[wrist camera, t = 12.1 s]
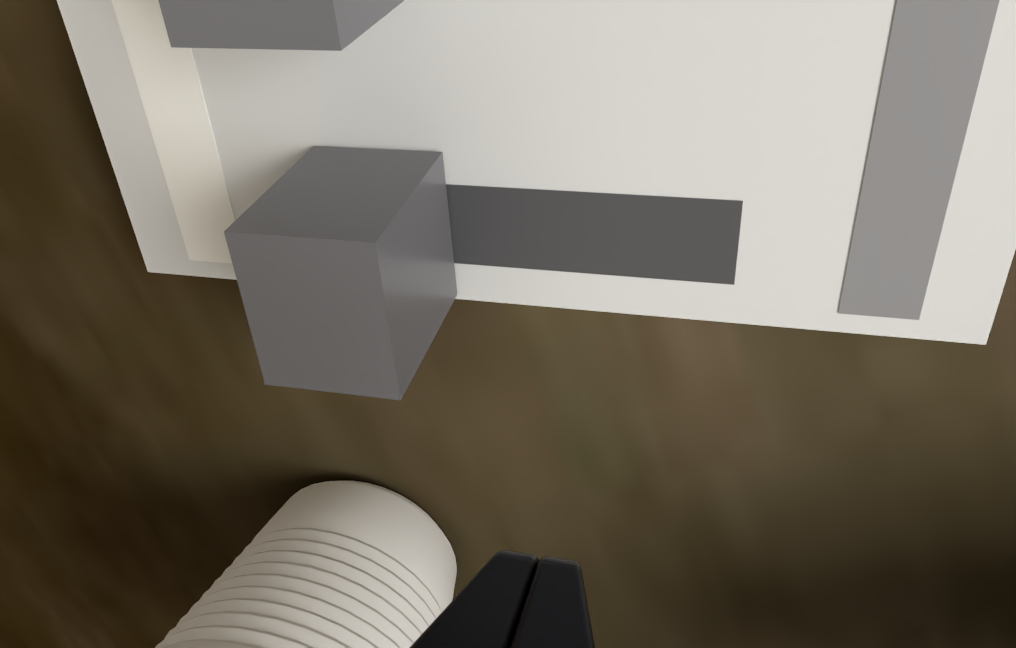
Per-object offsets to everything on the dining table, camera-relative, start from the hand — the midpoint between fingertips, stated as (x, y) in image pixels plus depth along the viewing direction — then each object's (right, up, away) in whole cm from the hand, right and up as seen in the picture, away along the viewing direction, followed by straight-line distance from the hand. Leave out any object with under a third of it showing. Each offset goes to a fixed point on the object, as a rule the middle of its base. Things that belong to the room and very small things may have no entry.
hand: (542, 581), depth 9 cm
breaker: (-3, +5, +11) cm, 13 cm away
